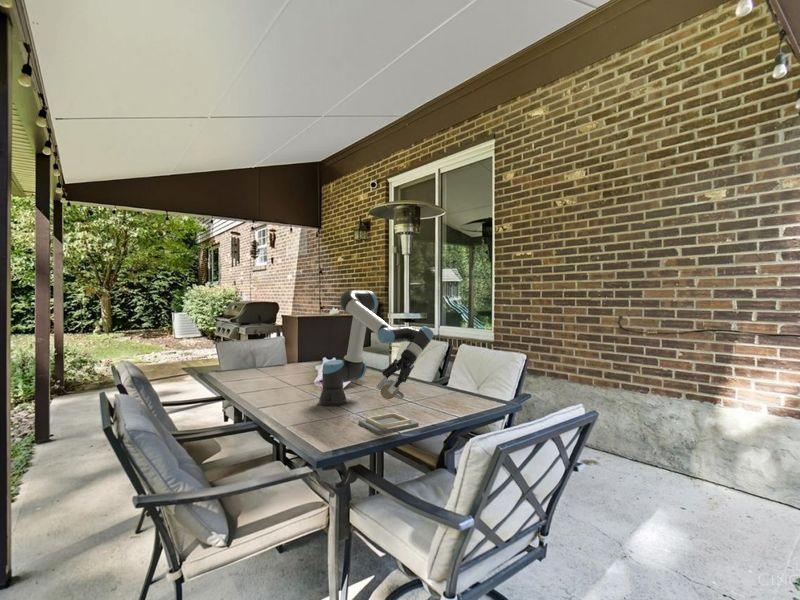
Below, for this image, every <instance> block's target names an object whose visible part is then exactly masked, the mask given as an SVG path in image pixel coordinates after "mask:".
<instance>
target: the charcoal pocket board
mask: <svg viewBox="0 0 800 600" xmlns="http://www.w3.org/2000/svg"><path fill="white" fill-rule="evenodd" d="M359 424H360V426H361V425H362V427H363V426H364V427H363V428H365V427H366V428H365V429H367V428H368V430H369V429H370V430H369V431H371V430H372V431H371V432H373V431H374V432H373V433H375V432H376V433H375V434H377V433H378V434H377V435H382V434H381V433H384V434H387V433H386V432H388V433H392V432H391V431H393V432H397V431H396V430H398V431H402V430H406V428H407V429H411V427H412V428H415V427H419V426H420V425H419V422H418V421H415V420H412V419H411V418H408V417H405V416H403V415H401V414H398V413H396V412H391V413H390V412H389V413H385V414H380V415H379V414H378V415H374V416H369V417H366V418H365V419H361V420H358V425H359ZM401 429H402V430H401Z"/></svg>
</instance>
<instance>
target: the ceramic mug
mask: <svg viewBox="0 0 800 600" xmlns="http://www.w3.org/2000/svg"><path fill="white" fill-rule="evenodd" d="M394 381H395V380H394V379H393V380H392V379H388V380H387V381H386V382H385V383H384V385H383V386H382V388H381V389H380V395H381V396H382V398H384V399H385V400H391V399H393V398H395V399H398V400H402V399H403V398H404V397H405V394H404V393H403V392H402V391H400V385H399V386H398V387H397V388H396V390H395V391H394V392H393V394H391V393H390V392H389V391H388V389H389V388H390V387H391V385H392V384H393V383H394Z"/></svg>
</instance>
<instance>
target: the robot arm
mask: <svg viewBox="0 0 800 600" xmlns="http://www.w3.org/2000/svg"><path fill="white" fill-rule="evenodd" d="M339 306H340V308H341V310H342V311H343V312H344V313H346V314H347V315H349V316H352V321H351V326H350V332H349V333H350V334H349V339H348V345H347V352H346V355H344V357H343V360H341V359H335V360H334V359H333V360H328V361H325V362H324V363H323V364H322V370H321V373H322V382H321V383H322V384H321V385H322V386H321V387H322V389H321V392H320V396H319V398H318V404H319V405H321V406H324V407H325V406H326V407H337V406H342V405H344V404H347V396H346V393H345V390H344V383H348V382H356V381H358V380H361V379H363V378H364V377H365V375H366V373H367V364H366V362H365V360H364V358H363V351H364V349H363V348H364V344H365V337H366V332H367V328H368V329H370V330H371V331H372V332H373V333H375V334H376V336H377V339H378V341H379V342H380V343H381V344H387V345H389V344H394V343H396V344H397V343H403V342H404V343H406V342H408V343H409V344H408V345H407V346H406V347H405V349H403V351H402V352H401V353H400V359H396V358H395V359H393V362H391V363H390V364H389V366H387V367H386V368H385V369H384V370H383V371H382V373H381V374H382V376H381V378H380V380H379V381H378V382H377V384H376V385H375V387H376V388H377V389H378V390H379V391H381V388H382V386H383V385H384V383H385V382H386V381H388V380H389V377H391V376H392V375H393V374H395V373H396V372H398V371H399V374H398V377H397V378H396V379H395V380H393V381H394V383H393V384H392V385H391V387H390V388H389V389H388V391H389V392H390V393H391V394H393V392H394V391H395V390H396V388H397V387H398V386H399V387H400V385H401V384H402V383H406V382H407V380H408V378H409V376H410V374H411V372H412V371H413V369H414V368H415V365H414V364H415V363H416V361H417V360H418V358H419V357H420V355H421V354H422V353H423V351H424V350H425V349H426V347H427V346H428V345H429V344H430V343H431V341H432V339H433V338H434V336H435V335H434V332H433V330H432V329H431V328H430V327H428V326H424V325H423V326H422V327H421V328H420V329H418V328H414V327H411V326H409V325H407V324H400V325H398V326H395V327H393V326H391V325H390V324H388V323H387V322H385V320H383V319H382V318H381V317H379V316H378V315H377V314H375V313H374V312H373V311H374V310H375V309H376V308H377V306H378V299H377V296H376V294H375V292H373V291H371V290H367V289H356V290H355V289H349V290H346V291H344V292H343V293H342V295H341V296H340V298H339Z"/></svg>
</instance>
